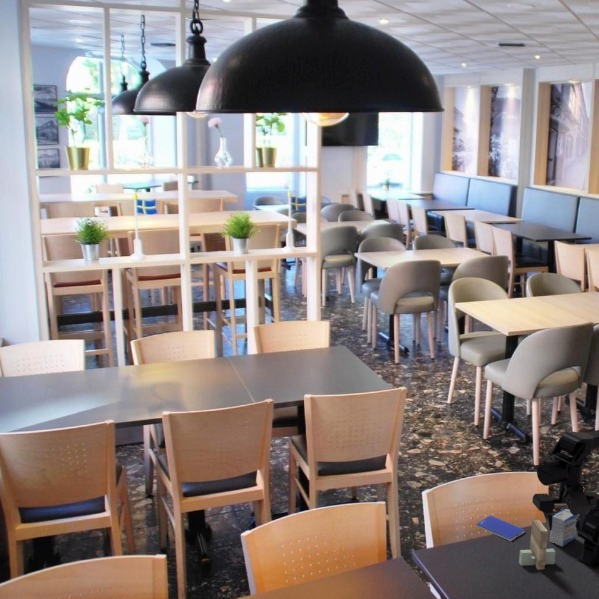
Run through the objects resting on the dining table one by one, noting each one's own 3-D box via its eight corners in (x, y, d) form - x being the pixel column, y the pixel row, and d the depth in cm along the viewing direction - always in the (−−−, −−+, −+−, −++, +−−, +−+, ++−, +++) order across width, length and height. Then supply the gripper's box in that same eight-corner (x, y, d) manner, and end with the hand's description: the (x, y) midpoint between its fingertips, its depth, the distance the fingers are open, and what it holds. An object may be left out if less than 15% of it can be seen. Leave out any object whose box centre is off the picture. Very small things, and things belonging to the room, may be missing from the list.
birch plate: (535, 557, 233) (538, 520, 230) (544, 569, 226) (547, 531, 224) (529, 557, 232) (532, 520, 230) (537, 569, 226) (541, 531, 224)
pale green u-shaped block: (551, 561, 231) (553, 548, 230) (554, 564, 229) (555, 551, 228) (518, 562, 230) (519, 550, 229) (521, 565, 228) (522, 553, 227)
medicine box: (562, 547, 238) (564, 521, 237) (548, 541, 242) (551, 515, 240) (575, 538, 244) (578, 512, 242) (562, 533, 247) (564, 507, 245)
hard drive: (476, 523, 250) (510, 538, 241) (490, 514, 256) (525, 529, 247) (476, 527, 250) (510, 543, 242) (490, 519, 256) (524, 533, 247)
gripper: (550, 492, 211) (545, 545, 214) (617, 490, 213) (611, 542, 216) (533, 474, 221) (529, 525, 225) (597, 472, 223) (592, 522, 227)
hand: (565, 529), depth 223 cm, fingers open, 9 cm apart
